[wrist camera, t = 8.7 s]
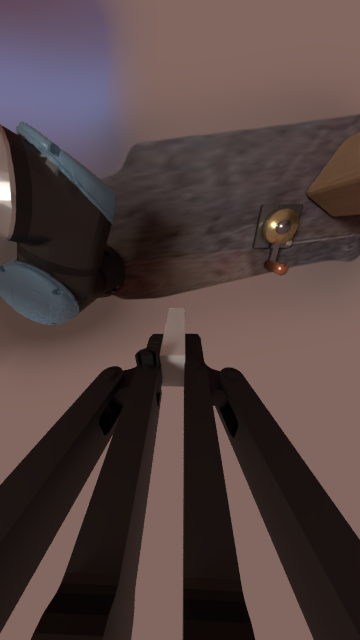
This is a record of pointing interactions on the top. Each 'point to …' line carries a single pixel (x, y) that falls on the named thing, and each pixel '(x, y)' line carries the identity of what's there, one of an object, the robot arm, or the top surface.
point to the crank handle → (279, 236)
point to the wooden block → (340, 181)
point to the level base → (263, 215)
